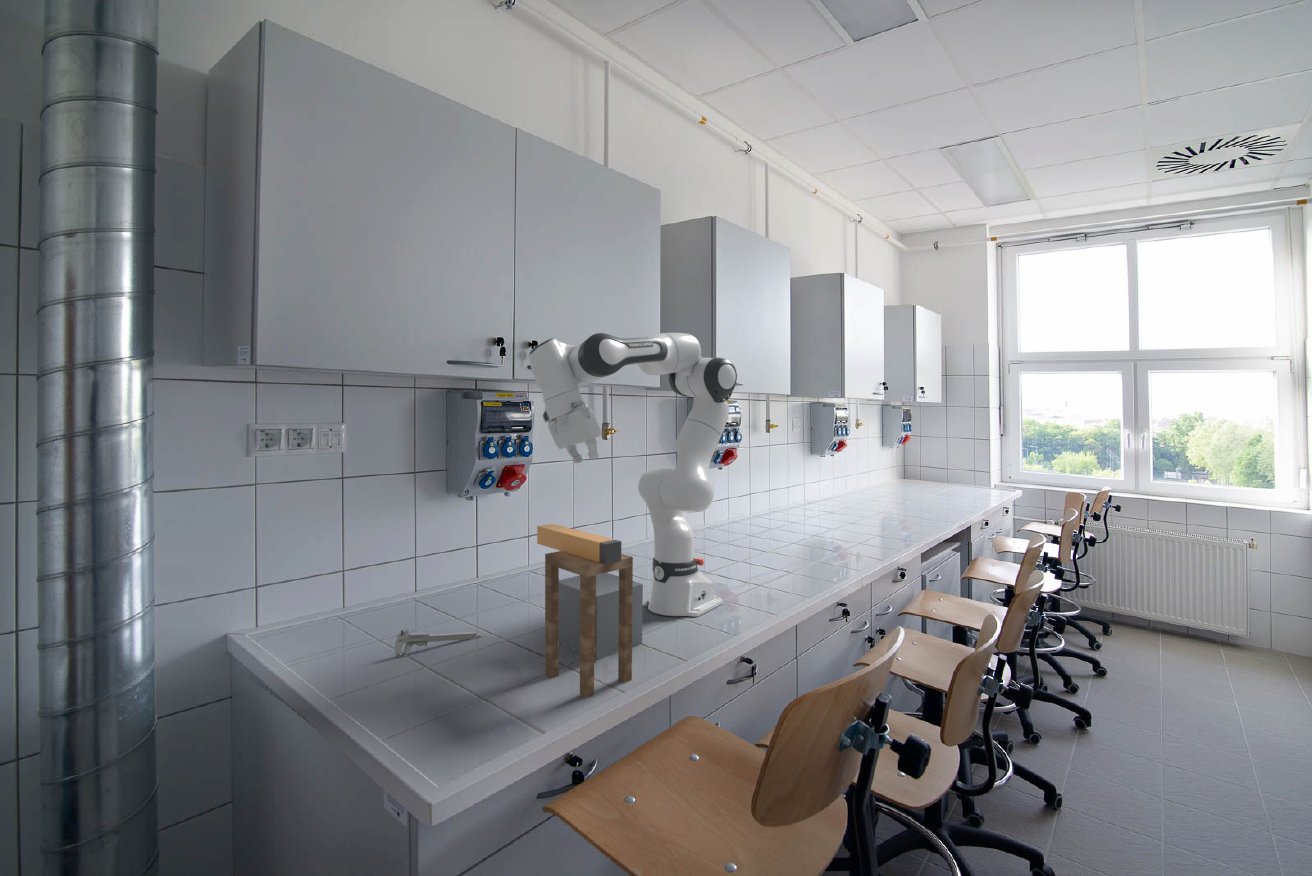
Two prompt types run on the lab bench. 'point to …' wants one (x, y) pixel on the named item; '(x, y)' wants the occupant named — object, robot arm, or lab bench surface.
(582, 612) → the wooden bar stool
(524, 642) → the lab bench surface
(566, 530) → the capped wooden beam
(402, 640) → the caliper
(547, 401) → the robot arm
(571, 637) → the crate
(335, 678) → the lab bench surface
